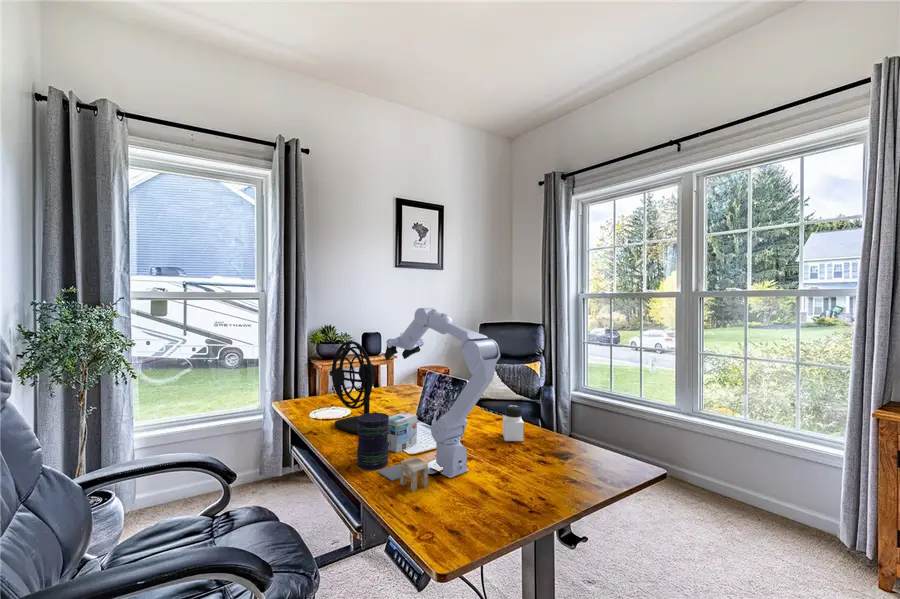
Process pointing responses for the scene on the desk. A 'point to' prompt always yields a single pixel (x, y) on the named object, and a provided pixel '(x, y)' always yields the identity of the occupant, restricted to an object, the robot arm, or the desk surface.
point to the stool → (414, 472)
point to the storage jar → (372, 441)
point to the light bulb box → (402, 431)
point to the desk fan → (367, 377)
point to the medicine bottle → (513, 424)
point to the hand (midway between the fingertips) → (394, 357)
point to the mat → (391, 472)
